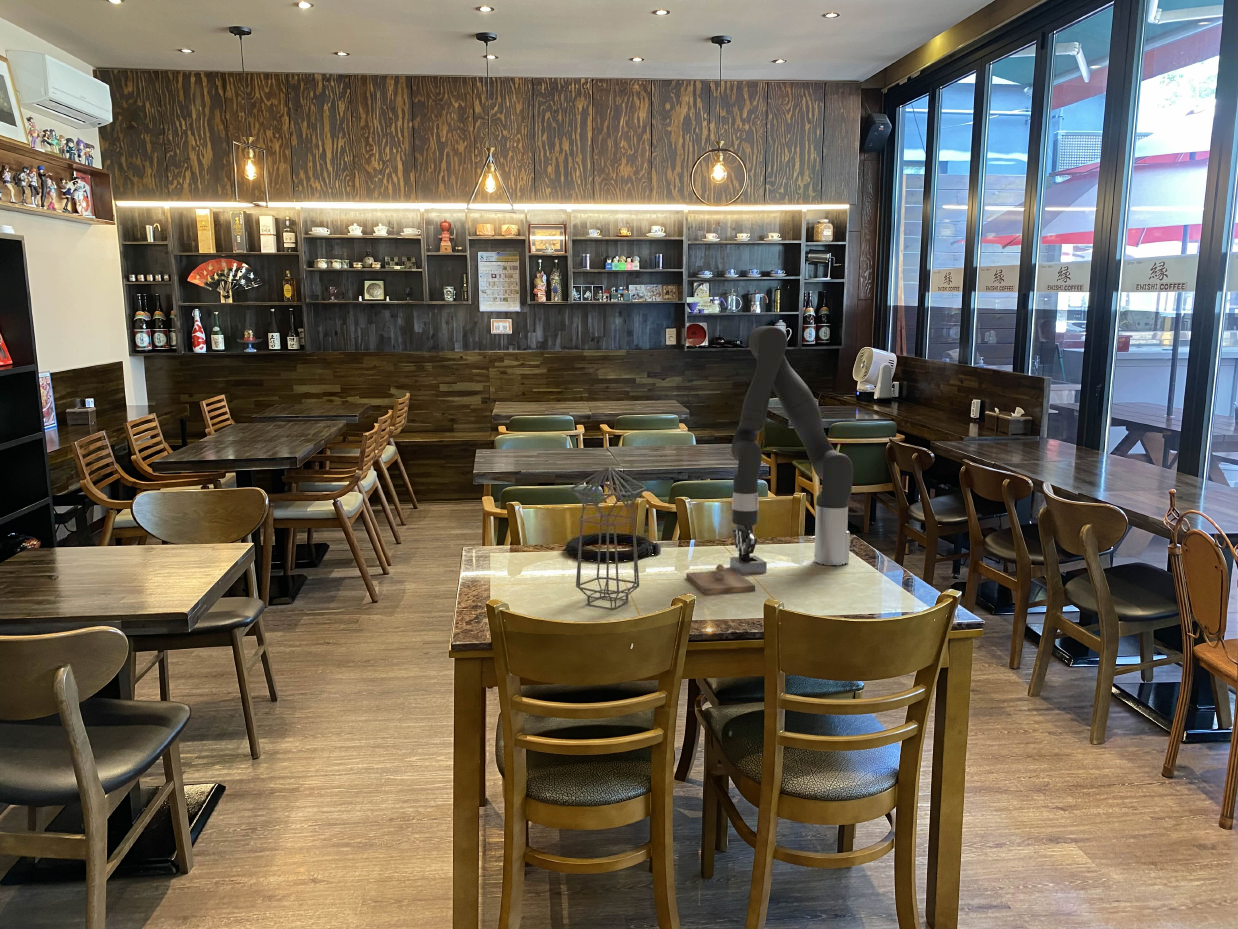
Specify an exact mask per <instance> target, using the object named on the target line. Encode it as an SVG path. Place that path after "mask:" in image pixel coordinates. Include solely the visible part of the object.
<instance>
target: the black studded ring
mask: <svg viewBox="0 0 1238 929" xmlns="http://www.w3.org/2000/svg"><path fill="white" fill-rule="evenodd" d="M579 539H580V535H578V536H577V537H574V538H571V539H570V540H568V541H567V543H566V544H565V547H564V548H565V551H566V553H567V555H569V556H570V555H571V556H570V557H572V556H573V557H572V558H575V557H577V558H576V559H578V552H579ZM616 539H617V544H620V543H626V544H625V545H627V544H631V545H630V546H634V545H633V534H631V533H630V534H629V533H623V532H622V533H617V532H616ZM602 544H607V532H601V545H602ZM609 544H615V542H614V532H609ZM584 545H586V546H591V545H599V533H597V532H595V533H591V534H582V548H581V559H585V560H584V561H588V560H593V561H598V550H597V549H590V548H583V547H585V546H584ZM636 546H638V547H637V559H638V558H640V559H642V558H641V557H643V558H645V557H647V556H648V557H651V556H657V555H658V554H660V555H661V553H662V546H661V543H658V542H653V541H651V540H649V539H648V538H647V537H644V536H641V535H638V534H636ZM656 553H657V554H656ZM652 554H654V555H652ZM617 559H618V561H623V562H625V561H624V560H630V561H634V560H633V559H634V547H633V548H628V549H617ZM638 560H639V559H638ZM593 561H592V562H593ZM600 561H607V550H601V549H600ZM609 561H615V550H609Z"/></svg>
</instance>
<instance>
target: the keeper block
mask: <svg viewBox="0 0 1238 929" xmlns="http://www.w3.org/2000/svg"><path fill="white" fill-rule="evenodd" d="M715 569H716V570H712V571H711V570H710V571H708V570H707V571H696V572H686V573H685V574H686V575H685V576H686V577H685V578H686V579H687V580H688V581H689V582H690V583H691V584H692V585H693V586H695V587H696V589H698V590H699V591H700V592H701V593H703V594H704V595H718V594H731V593H732V594H733V593H744V592H745V593H747V592H756V585H755V583H753V582H751V581H750V580H749V579H747V578H746V577H745V576H743V574H739V573H737V572H736V571H735V570H733V569H727V570H726V569H725V567H724V565H723V564H717V565H716V567H715Z"/></svg>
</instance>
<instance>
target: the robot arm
mask: <svg viewBox="0 0 1238 929" xmlns="http://www.w3.org/2000/svg"><path fill="white" fill-rule="evenodd" d="M748 347H749V350H750V352H751V353H752V355H753V357H754V358H755V360H756V361H757V362H756V366H755V367H756V369H755V370H754V371H755V373H754V375H753V378H752V381H751V383H750V386H748V387H749V388H748V390H747V392H746V393H745V397H744V400H743V404H742V409H741V414H740V419H739V425H738V426H737V428H736V431H735V434H734V436H733V439H732V443H731V451H730V452H731V454H732V455H731V456H732V457H733V459H734V460H736V461H738V463H737V464H738V465H737V471H736V472H735V473H734V475H733V484H732V485H733V487H732V488H733V489H732V490H733V491H732V492H733V493H732V498H731V500H732V502H731V523H732V524H733V525H736V526H735V527H736V528H733V529H732V532H733V534H732V535H733V540H734V546H735V549H737V552H738V557H741V556H742V561H743V562H750V556H751V554H754V552H755V548H756V545H757V541H758V538H757V536H754V528H753V526H755V525H757V524H759V495H758V494H759V491H758V490H759V481H758V480H759V474H760V472H761V471H760V470H761V466H762V460H763V451H762V448H761V446H760V444H759V443H758V442H757V438H758V434H759V433H760V432H762V431H763V430H764V426H765V423H766V418H767V413H768V409H769V404H770V399H771V395H772V391H774V393H775V395H776V397H777V399H778V400H779V403H780V405H781V408H783V411H784V413H785V415H786V416H787V419H788V421H789V422H790V424H791V425H792V427H793V429H794V431H795V433H796V434H797V436H798V438H799V440H800V441H801V443H802V444H803V447H804V449H805V451H806V454H807V457H808V459H809V461H810V463H811V467H812V470H813V471H814V473H815V475H816V476H817V477H818V478H819V479H821V481H822V482H821V484H822V485H821V490H820V491H821V492H820V493H819V494H817V496H816V501H815V502H816V503H815V527H814V528H815V530H814V555H813V557H814V563H816V562H817V563H816V564H818V563H819V564H818V565H822V564H824V565H823V566H831V565H837V566H842V564H843V565H845V563H846V564H849V563H850V543H851V542H850V540H851V539H850V538H851V533H850V531H849V530H848V520H849V519H848V518H849V517H848V515H849V501H850V499H851V496H852V490H853V488H852V487H853V480H854V479H853V477H854V467H853V462H852V460H851V458H849V456H848V455H846V454H845V453H841V452H839V451H837V450H836V449H834V447H833V445H832V444H831V442H830V440H829V438H828V437H827V435H826V433H825V429H824V426H823V425H824V424H823V418H822V414H821V409H820V407H819V405H818V402H817V401H816V398H815V396H814V395H813V393H812V391H811V389H810V388H809V387H808V385H807V384H806V383H805V382H804V380H803V379H802V378H801V377H800V375H799V374H798V373H797V372H796V371H795V370H794V369H793V368H792V367H791V365H790V363H789V361H788V360H787V357H786V355H785V354H786V349H787V347H788V337H787V334H786V333H785V330H783V329H782V328H780V327H779V326H773V325H763V326H759V327H756V328H754V329H753V330H752V331H751V333H750V334H749V337H748Z"/></svg>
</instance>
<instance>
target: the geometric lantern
mask: <svg viewBox="0 0 1238 929" xmlns="http://www.w3.org/2000/svg"><path fill="white" fill-rule="evenodd" d="M607 477H608V483H607V482H606V481H607ZM621 477H622V478H623V479H625V480H627V481H629V482H630V483H632V484H634V485H637V486H628V484H627V483H626V482H625V481H624V480H623V479H622V478H621ZM592 478H593V479H592ZM612 478H613V480H614V483H615V484H613V481H612ZM591 479H592V480H591ZM589 480H590V482H589V483H588V484H586V486H584V487H583V488H578V487H579V486H581V485H583V484H584V483H586V482H588V481H589ZM602 481H603V482H602ZM620 483H621V484H622V485H621V484H620ZM601 485H603V486H605V487H606V488H607V490H609V491H610V493H598V490H599V489H600V486H601ZM622 486H624V487H625V488H624V487H622ZM614 488H615V489H617V491H618V492H616V491H615V490H614ZM636 489H637V490H636ZM592 490H593V491H592ZM633 490H635V491H633ZM646 490H648V487H646V486H645V485H643V484H641V483H639V482H638V481H636V480H634V479H632V478H631V477H630V476H628V475H626V474H625V473H623V472H620V471H619V470H617V469H616V468H614V467H612V466H611V467H610V466H608V467H607V466H606V467H604V468H603V469H601V470H599V471H597V472H596V473H595V474H594V473H593V474H592V475H591V476H589V477H587V478H585V479H583V480H582V481H580V482H578V483H577V484H575V485H573V486H571V487H570V488H568V491H569V492H571V493H572V494H573V495H575V497H576V498H578V499H579V500H580V501H581V502H582V506H581V515H580V518H579V521H580V522H579V524H580V525H579V536H580V539H579V552H578V558H577V567H576V568H577V569H576V580H575V588H577V589H578V590H580V592H582V594H584V595H585V596H586V599H587V600H586V605H587V606H589V607H590V606H591V607H596V608H600V609H601V608H602V609H607V610H616V609H618V608H620V607H622V606H624V605H625V604H627V603H629V602H630V601H629V595H630V594H632V593H633V592H634V591H636V590H637V589H639V587H640V576H639V575H640V574H639V562H638V561H639V559H637V548H638V547H637V546H636V535H637V532H636V507H635V504H636V500H638V499H639V497H640V496H642V494H643V493H644V492H645V491H646ZM581 494H582V495H581ZM587 495H589V497H587ZM612 496H613V497H617V499H616V501H615V502H614V504H613V505H612V507H611V508H610V510H609V511H608V513H607V514H606V513H604V512H603V511H602V509H601V507H600V506H599V504H601V503H603V502H605V501H606V500H608V499H609V498H611V497H612ZM623 496H624V497H623ZM596 497H603V498H602V499H600V500H599V501H597V502H596ZM632 498H633V499H632ZM631 499H632V501H631V502H629V501H630V500H631ZM619 500H620V501H621V502H622V504H623V505H622V506H621V508H619V510H618V512H617V514H611V513H612V512H613V510H614V508H615V507H616V505H617V504H618V502H619ZM588 501H590V502H591V503H588ZM631 505H632V513H631V509H630V506H631ZM624 506H625V507H627V509H628V512H629V515H630V516H626V515H619V514H620V513H621V511H622V509H623V508H624ZM586 507H595V509H596V511H597V512H598V514H595V515H592V516H588V517H584V515H585V514H584V513H585V510H586ZM596 517H599V521H598V522H597V521H591V520H589V519H592V518H596ZM610 517H615V518H614V519H613V520H612V522H611V523H610ZM617 518H624V519H625V518H626V519H631V520H627V521H622V522H619V523H615V521H616V519H617ZM603 520H604V521H605V523H603ZM584 523H589V524H590V523H591V524H597V525H599V531H598V532H599V544H598V562H597V569H596V577H595V578H592V579H588V580H586V581H583V582H581V575H582V572H581V570H582V560H581V548H583V546H582V535H583V527H584V526H583V525H584ZM627 523H632V535H633V545H632V546H633V548H634V560H633V577H634V580H627V579H620V578H619V564H618V563H619V562H618V559H617V550H618V543H617V539H616V533H617V526H619V525H623V524H627ZM602 526H606V533H607V543H606V551H607V562H606V569H605V570H606V576H602V577H601V576H600V550H601V546H602V544H601V533H602V528H603V527H602ZM610 526H613V533H614V542H615V543H614V551H615V562H614V563H615V576H616V577H615V578H614V577H609V576H610V574H609V571H610V562H609V551H610V543H609V533H610ZM600 580H605V585H604V588H603V589H602V586H601V582H600ZM609 580H610V581H616V582H615V583H616V590H613V589H612V590H611V589H609V586H610V585H609V584H610V583H609ZM596 581H597V582H598V586H599V589H598V590H597V589H592V588H587V587H581V586H583V585H586V584H588V583H592V582H596ZM620 582H622V583H628V584H632V585H631V586H630V587H626V588H624V589H622V590H620ZM585 591H588V592H592V593H590V594H588V593H586V592H585ZM595 594H599V596H598V597H597V596H593V595H595ZM619 594H623V595H622V596H619ZM611 595H615V596H614V597H613V596H611ZM618 596H619V597H618ZM601 597H602V598H601ZM607 597H609V598H608V599H607ZM613 598H614V599H613ZM592 599H593V600H592ZM619 599H621V600H620V601H625V600H626V601H625V602H623V603H620V604H619V605H617V600H619ZM597 600H601V601H605V602H606V601H608V602H610V607H607V606H602V605H597V604H591V603H593V602H595V601H597ZM613 602H614V607H613Z"/></svg>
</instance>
